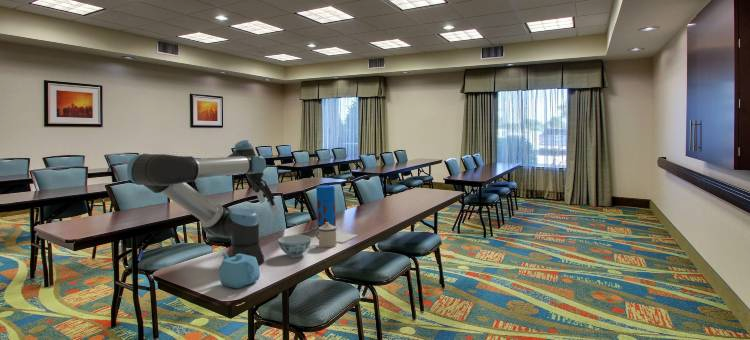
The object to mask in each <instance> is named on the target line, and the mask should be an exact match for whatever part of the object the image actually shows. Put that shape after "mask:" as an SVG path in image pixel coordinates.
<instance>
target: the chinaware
mask: <svg viewBox="0 0 750 340" xmlns="http://www.w3.org/2000/svg"><path fill="white" fill-rule="evenodd" d="M277 241H278V245H279V247H280V249H281V251H282V252H283V253H285V254H286V255H287V256H288V257H289V258H300V257H302V256H304V253H305V252H306V251H307V250H308V249H309V247H310V245H311V242H312V237H311V236H309V235H305V234H292V235H286V236H282V237H280V238H278V240H277Z"/></svg>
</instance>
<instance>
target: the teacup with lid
mask: <svg viewBox="0 0 750 340" xmlns="http://www.w3.org/2000/svg"><path fill="white" fill-rule="evenodd" d="M336 233H337V226H336V227H335V226H332V225H331V224H329V222H326V223H325V225H323V226H321V227H319V228H318V227H317V230H315V233H314V234H315V237H316V239H317V240H318V245H319V247H320V248H324V249H325V248H327V249H328V248H335V246H337V243H336Z"/></svg>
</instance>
